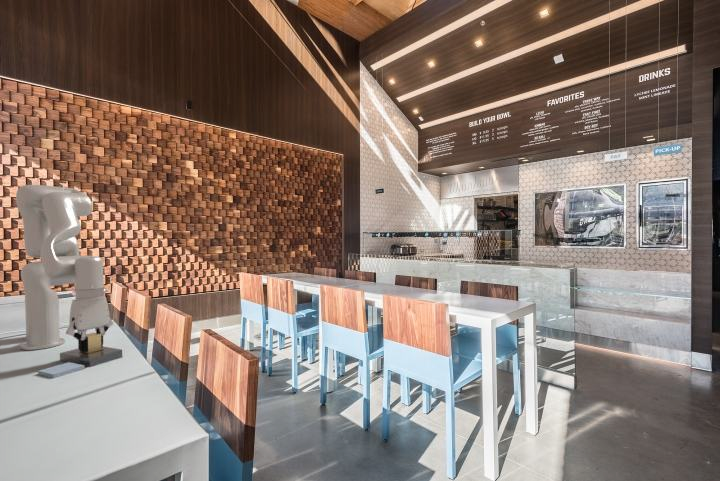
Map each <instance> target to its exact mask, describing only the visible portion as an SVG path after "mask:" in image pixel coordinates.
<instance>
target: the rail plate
mask: <svg viewBox="0 0 720 481" xmlns="http://www.w3.org/2000/svg"><path fill="white" fill-rule="evenodd" d="M120 358H121V359H122V358H123V349H120V348H115V347H108V346H103V347H102V348H101V351H99V352H95V353H92V354H88V355H87V354H82V353H81V352H80V350H79V348H78V347H77V348H75V349H71V350H68V351H63V352H59V361H60V362H64V363H68V362H71V363H76V364H80V365H84V367H87V368H91V367H95V366H97V365H100V364H104V363H108V362H110V361H114V360H117V359H120Z"/></svg>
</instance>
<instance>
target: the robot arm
mask: <svg viewBox="0 0 720 481" xmlns="http://www.w3.org/2000/svg"><path fill="white" fill-rule="evenodd" d="M15 201H16V206H17V207H16V208H17V209H18V211H19V214H20V216H21V219H22V222H23V239H24V240H23V241H24V250H25V253H26V255H27V256H28V257H30V258H39V259H40V260H41V261H32V262H29V263H26V264H25V265H24V266H23V267H22V268H21V270H20V277H21V281H22V285H23V286H22V287H23V292H24V306H25V307H24V309H25V339H26V340H25V343H23V344H21V345H20V349H21V350H23V351H34V350H35V351H36V350H43V349H48V348H49V349H50V348H52V347H57V346H60V345H62V344H65V342H66V339H65V338H63V337H60V335H61V334H60V306H59V305H60V301H59V296H58V294H57V292H55V291H54V290H53V289H52V287H55V286H64V285H71V284H74V285H75V286H74V290H75V291H74V292H75V293H74V294H75V296H74V297H75V299H72V301H71V304H70V310H69V323H68V324H69V326H68V327H67V329H66V331H65V334H66V335H68V336H71V337H73V338H74V339H76V340H77V343H78V347H77V349H78V348H79V350H80V352H87V340H86V339H85V337H86V334H87V332H88V331H89V330H94V331H95V333H100V334H101V348H102V347H104V346H103V345H104V336H105V335H106V333H107V331H108V330H109V328H111V326H113V325H114V321H113V320H111V318H110V309H109V304H108V301H107V297H106V296H105V293H107V292H108V289H107V288H105V287H104V286H105V285H104V259H103V258H102V257H100V256H92V255H80V246H79V242H78V238H77V237H76V236H78V235H79V234H80V233H81V231H82V227H81V224H80V221H79V218H78V217H87V216H89V215H91V213H92V212H93V201H92V199H91V198H90V197H89V196H88V194H86V193H84V192H82V191H80V190H78V189H75V188H71V187H64V186H53V185H43V184H24V185H22V186H20V187H19V188H18V189H17V190H16V195H15ZM76 330H77V331H76ZM87 330H88V331H87Z"/></svg>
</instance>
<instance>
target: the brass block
mask: <svg viewBox="0 0 720 481" xmlns="http://www.w3.org/2000/svg"><path fill="white" fill-rule="evenodd" d="M85 339H86V340H87V352H81V353H82V354H87V355H88V354H92V353H95V352H99V351H101V334H100V333H96V332H91V333H86V337H85Z"/></svg>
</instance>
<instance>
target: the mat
mask: <svg viewBox="0 0 720 481" xmlns="http://www.w3.org/2000/svg"><path fill="white" fill-rule="evenodd" d="M84 369H85V366H84V365H80V364H76V363H71V362H64V363H61V364H58V365H53V366H50V367H48V368H43V369H40V370H37V372H38V375H41V376H45V377H48V378H52V379H55V378H58V377H61V376H64V375H68V374H72V373H74V372H77V371H81V370H84Z"/></svg>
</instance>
